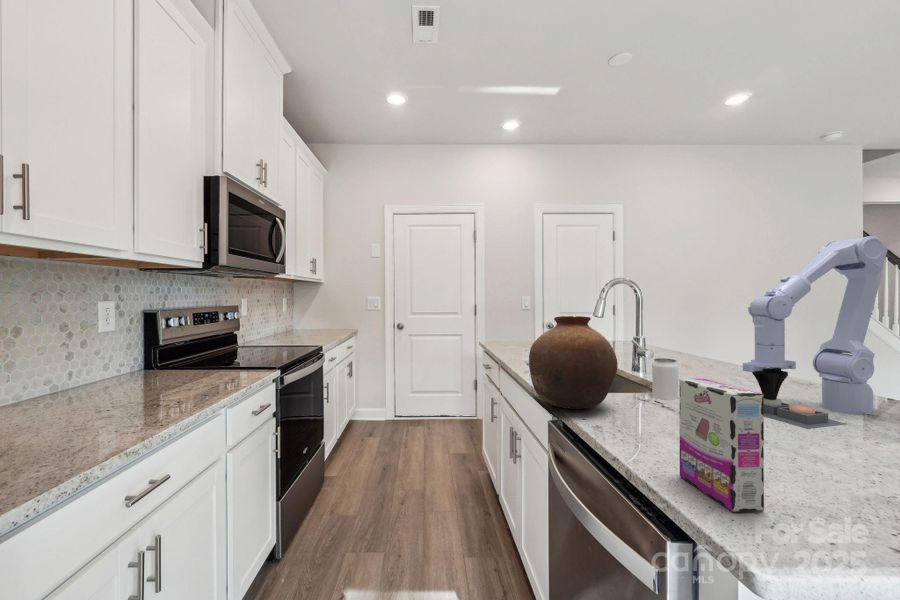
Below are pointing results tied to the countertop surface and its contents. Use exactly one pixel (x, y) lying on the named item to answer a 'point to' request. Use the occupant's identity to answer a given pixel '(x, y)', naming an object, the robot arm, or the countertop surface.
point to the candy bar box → (723, 443)
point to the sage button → (773, 402)
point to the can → (665, 379)
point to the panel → (799, 417)
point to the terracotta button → (802, 409)
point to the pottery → (572, 364)
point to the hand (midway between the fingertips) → (769, 399)
